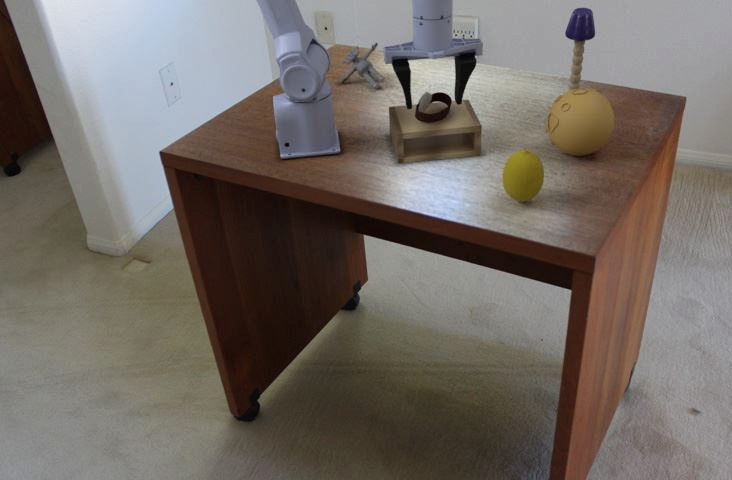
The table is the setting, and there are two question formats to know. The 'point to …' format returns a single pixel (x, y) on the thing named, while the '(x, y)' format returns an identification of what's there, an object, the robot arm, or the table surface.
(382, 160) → the table surface
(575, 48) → the toy lamp
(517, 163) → the lemon
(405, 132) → the shelf
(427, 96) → the watch
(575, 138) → the stress ball
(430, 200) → the table surface
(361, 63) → the gray toy figurine
